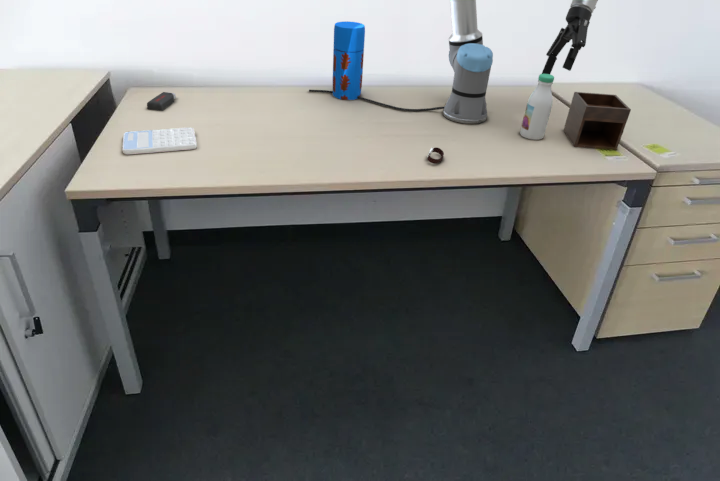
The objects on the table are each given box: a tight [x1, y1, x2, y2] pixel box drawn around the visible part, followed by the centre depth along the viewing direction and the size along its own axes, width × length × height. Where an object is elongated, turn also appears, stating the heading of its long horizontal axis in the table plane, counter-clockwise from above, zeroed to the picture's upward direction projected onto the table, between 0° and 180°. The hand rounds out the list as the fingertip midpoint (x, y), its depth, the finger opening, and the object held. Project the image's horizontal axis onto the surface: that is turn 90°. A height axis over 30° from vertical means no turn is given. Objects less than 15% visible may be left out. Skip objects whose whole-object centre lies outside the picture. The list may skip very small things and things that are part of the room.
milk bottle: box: [520, 73, 555, 141], centre depth 170 cm, size 8×8×20 cm
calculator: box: [121, 126, 198, 155], centre depth 155 cm, size 13×20×2 cm, turn 108°
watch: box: [426, 147, 445, 165], centre depth 155 cm, size 8×5×4 cm, turn 157°
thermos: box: [332, 21, 366, 101], centre depth 192 cm, size 11×11×25 cm
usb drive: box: [146, 91, 177, 112], centre depth 180 cm, size 5×12×3 cm, turn 170°
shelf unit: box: [562, 91, 632, 151], centre depth 172 cm, size 14×14×14 cm
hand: (555, 72), depth 177 cm, fingers open, 13 cm apart
